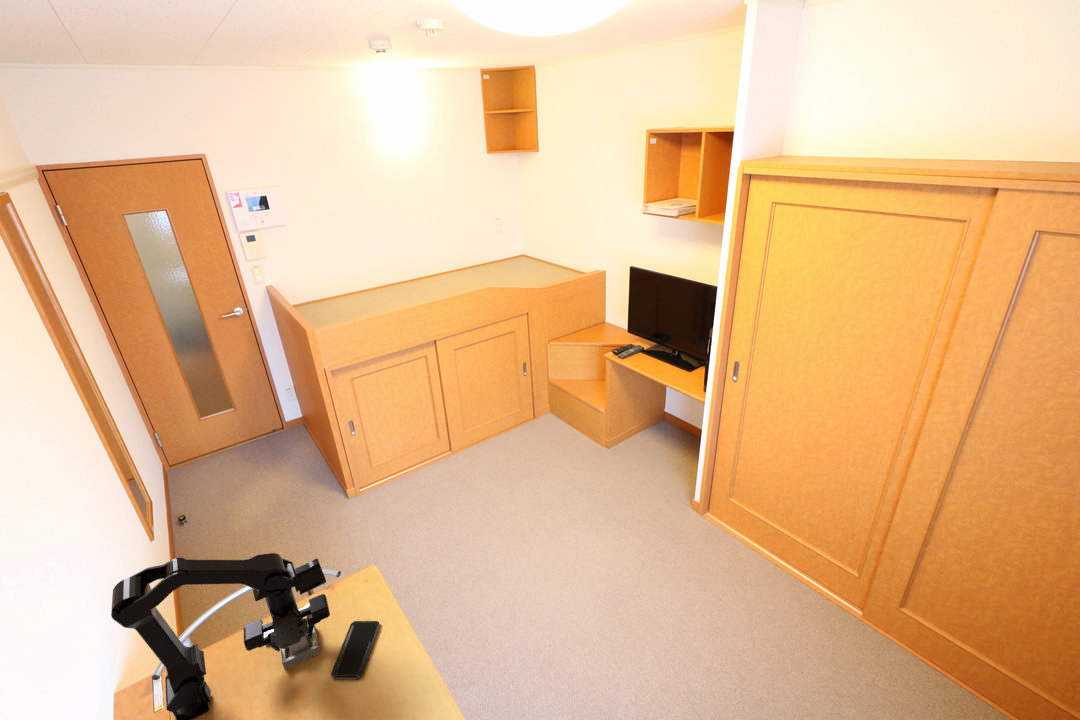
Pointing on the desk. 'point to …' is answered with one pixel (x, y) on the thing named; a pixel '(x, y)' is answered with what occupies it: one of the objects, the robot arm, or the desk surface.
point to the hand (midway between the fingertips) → (295, 642)
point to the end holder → (301, 653)
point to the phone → (355, 650)
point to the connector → (300, 645)
